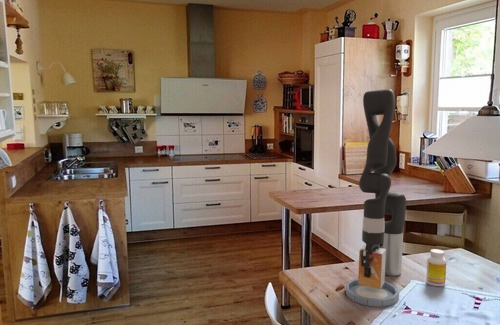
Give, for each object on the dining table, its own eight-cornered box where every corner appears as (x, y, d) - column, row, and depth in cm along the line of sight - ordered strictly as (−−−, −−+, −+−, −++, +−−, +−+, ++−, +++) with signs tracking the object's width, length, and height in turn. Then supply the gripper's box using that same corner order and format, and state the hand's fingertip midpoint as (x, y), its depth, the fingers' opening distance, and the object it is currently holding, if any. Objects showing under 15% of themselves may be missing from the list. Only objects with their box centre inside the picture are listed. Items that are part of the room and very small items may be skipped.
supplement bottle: (447, 287, 153) (449, 254, 151) (428, 286, 154) (430, 253, 153) (442, 280, 159) (444, 248, 158) (424, 279, 161) (426, 247, 159)
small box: (357, 285, 146) (358, 249, 144) (362, 278, 152) (363, 244, 150) (380, 289, 142) (382, 253, 140) (384, 283, 147) (386, 248, 146)
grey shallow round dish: (359, 280, 160) (359, 274, 159) (405, 293, 148) (405, 286, 148) (337, 296, 146) (337, 290, 146) (386, 312, 135) (386, 305, 134)
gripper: (371, 222, 152) (370, 265, 154) (354, 231, 141) (352, 277, 143) (391, 226, 147) (389, 270, 149) (375, 235, 136) (373, 283, 138)
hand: (371, 273), depth 146 cm, fingers closed on small box, 7 cm apart
